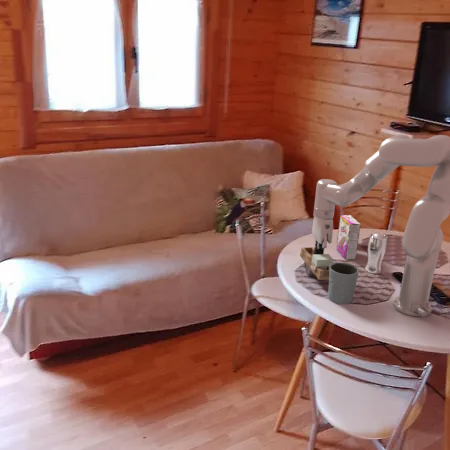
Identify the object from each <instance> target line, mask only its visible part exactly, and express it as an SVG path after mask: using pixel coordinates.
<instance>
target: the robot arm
mask: <svg viewBox="0 0 450 450" xmlns="http://www.w3.org/2000/svg"><path fill="white" fill-rule="evenodd" d="M400 166H403V167H417V168H422V167H423V168H430V167H431V168H432V167H434V170H433V173H432V175H431V178H430V181H429V183H428V186H427V189H426V191H425V194H424V195H423V197H422V198H420V199H418V200H417V201H416V202H415V204H414V205H413V207H412V209H411V211H410V214H409V216H408V219H407V222H406V227H405V229H404V233H403V235H402V239H401V246H402V249H403V251H404V253H405V254H406V257H405V258H406V259H405V265H404V269H403V274H402V277H401V278H402V280H401V285H400V291H399V295H398V297H397V296H396V297H395V298H394V299H393V301H392V306H393V307H394V308H395V309H396V310H397V311H399V312H400V313H402V314H404V315H408V316H411V317H424V318H425V317H426V316H428V315H430V314H431V313H432V307H431V305H430V302H429V299H430V294H431V289H432V284H433V280H434V274H435V270H436V267H437V262H438V258H439V255H440V251H441V248H442V245H443V241H444V233H443V229H442V228H441V225H442V223H443V222H444V221H445V220H446V219H447V218H448V217H449V216H450V135H445V134H438V135H437V134H436V135H433V136H431V137H429V138H411V137H410V136H409V135H406V134H396V135H394V136H390V137H388V138H386V139H384V140H383V141H382V143H381V144H380V145H379V148H378V150H377V151H376V152H374V153H373V154H372V155H371V156H370V157H368V158H367V159H366V160H365V161H364V166H363V168H362V170H361V171H359V172H358V173H357V174H356V175H354V177H353V178H351V179H350V180H348V181H347V182H345V183H341V184H338V182H336V181H335V180H334V179H330V178H327V179H326V178H323V179H319V180H318V181H317V182H316V188H315V197H314V206H313V221H312V227H311V236H312V237H313V238H314V247H315V250H314V254H325V253H324V252H325V249H327V247H328V244H329V245H330V244H332V243H333V231H334V219H333V218H334V216H335V208H336V206H338V207H346V206H348V205H351V204H352V203H354V202H357V201H358V200H359V199H361V198H362V197H364V196H365V195H366V194H367V193H368V192H370V191H371V190H372V189H373V188H375V187H377V185H378V184H380V182H382V181H383V180H384V179H385V178H387V176H389V175H390V174H391V173H392V172H393V171H394V170H395V169H397V168H399V167H400Z"/></svg>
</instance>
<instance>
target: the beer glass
mask: <svg viewBox="0 0 450 450" xmlns="http://www.w3.org/2000/svg"><path fill="white" fill-rule="evenodd" d="M387 242H388V236H387V235H385V234H384V233H379V232H374V233H370V234H369V238H368V243H367V261H366V262H367V263H366V265H365V268H364V270H365V271H366V272H367V271H368V272H367V273H370V274H380V273H381V272H382V262H383V258H384V256H385V253H386V249H387V244H388V243H387Z"/></svg>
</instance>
